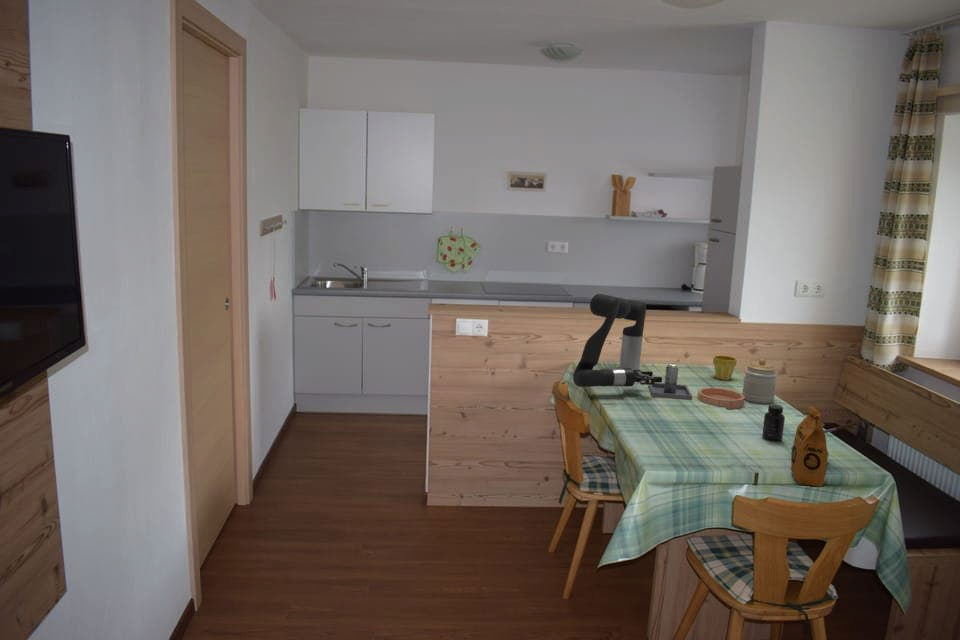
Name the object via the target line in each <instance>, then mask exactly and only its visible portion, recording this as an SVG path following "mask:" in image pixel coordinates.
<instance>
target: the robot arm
mask: <svg viewBox="0 0 960 640" xmlns="http://www.w3.org/2000/svg"><path fill="white" fill-rule="evenodd" d="M589 309H590V312H591V314H592V315H594V316H596V317H601V318H605V319H604V321H603V323H602V324H601V326H600V327H599V328H598V329H597V330H596V331H595V332H594V333H593V334H592V335H590V337H589V338H588V339H587V341H586V342H585V345H584V347H583V351H582V355H581V358H580V360H579V362H578V363H577V366H576V367H575V369H574V372H573V374H572V375H573V376H572V377H573V379H572V381H573V383H574V385H576V386H577V387H579V388H589V387H591V388H593V387H615V388H616V387H617V388H619V387H621V388H622V387H633V386H634V385H635V383H637V384H640V385H642V386H643V385H644V386H645V385H646V386H647V385H648V386H649V385H654V383H662V382H663V377H662V376H654V375H653V373H654V372H653V371H652V370H651V371H645V370H641V369H640V366H641V357H642V347H643V345H642V344H643V337H644V336H643V335H644V328H645V321H646V314H647V305H646V303H645V302H644V301H640V300H632V299H625V298H623V297H616V296H613V295H608V294H603V293H597V294H595V295H594V296H592V298H591V300H590V303H589ZM616 319H618V320H619V319H620V320H621V319H624V320H627V321H634V322H635V324H633V325H630V326H625V327H624V328H623V329H622V337H621V347H620V351H619V352H620V353H619V355H620V356H619V363H618V368H609V369H608V368H603V369H594V367H595V366H596V365H598V363H599V360H600V356H601V353H602V350H603V346H604V344H605V342H606V340H607V337H608V335H609V334H610V331H611V329H612V326H613V324H614V322H615V321H616Z"/></svg>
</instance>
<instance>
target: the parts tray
mask: <svg viewBox="0 0 960 640" xmlns="http://www.w3.org/2000/svg"><path fill="white" fill-rule="evenodd" d="M664 384H665V383H662V382H656V383H654V385H648V389H649V391H650V394H651V397H652V398H665V399H674V400H686V401H687V400H689V401H693V394H692V393H691V391H690V389H689V388H688V387H689V386H687V385H686V384H677V387H676V394H670V393H664Z"/></svg>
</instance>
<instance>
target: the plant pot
mask: <svg viewBox="0 0 960 640" xmlns="http://www.w3.org/2000/svg"><path fill="white" fill-rule="evenodd" d="M737 362H738V360H737V357H734V356H730V355H719V354H718V355H713V358H712V364H713V366H714V373H715V375H714V376H715V378H716V379H719V380H724V381H729V380H731V378H732V376H733V372H734V370H735V367H736V366H737V364H738V363H737Z"/></svg>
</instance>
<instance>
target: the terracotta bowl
mask: <svg viewBox="0 0 960 640" xmlns="http://www.w3.org/2000/svg"><path fill="white" fill-rule="evenodd" d="M696 397H697V399H698V400H699V401H700V402H701V403H704V404H707V405H712V406H717V407H723V408H725V409H727V410H734V409H735V410H736V409H741V408H743V407H744V406H745V401H746V400H745V397H744V396H743V394H742V392H738V391H736V390H733V389H726V388H720V387H702V388H700V389H698V390H697V396H696Z"/></svg>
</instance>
